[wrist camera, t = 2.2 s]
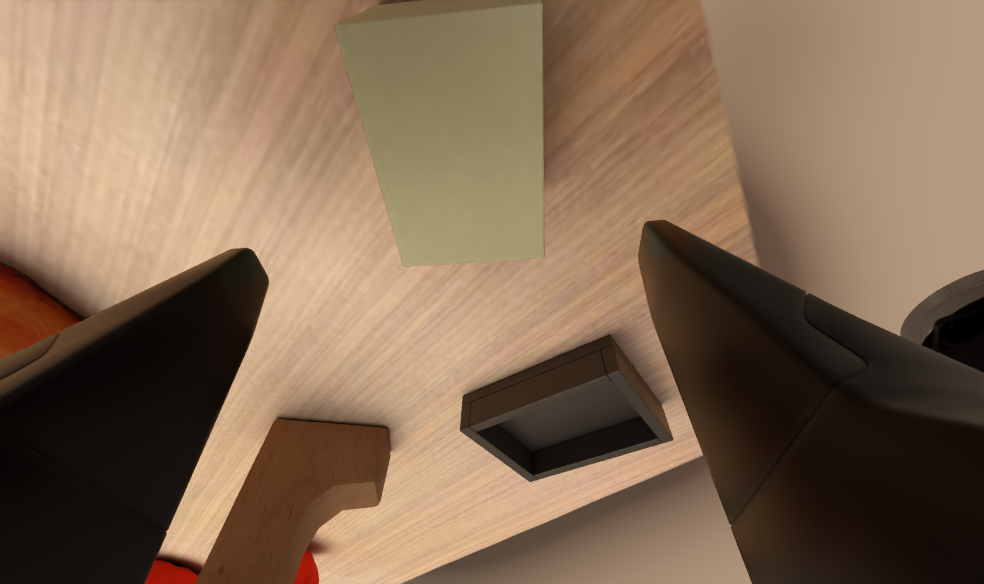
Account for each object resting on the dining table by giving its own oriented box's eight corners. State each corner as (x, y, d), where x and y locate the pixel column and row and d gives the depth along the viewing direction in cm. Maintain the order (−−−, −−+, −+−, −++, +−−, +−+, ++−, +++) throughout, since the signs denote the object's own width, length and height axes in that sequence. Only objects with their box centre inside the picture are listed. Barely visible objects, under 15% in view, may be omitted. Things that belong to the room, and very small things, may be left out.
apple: (335, 543, 50) (313, 619, 44) (320, 561, 54) (299, 632, 49) (267, 530, 47) (235, 608, 42) (258, 550, 52) (228, 623, 46)
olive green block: (377, 4, 14) (332, 24, 11) (531, -13, 14) (542, 2, 10) (422, 205, 20) (403, 267, 16) (536, 197, 19) (544, 258, 15)
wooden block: (389, 425, 32) (305, 777, 19) (391, 453, 35) (320, 775, 22) (273, 416, 32) (100, 771, 18) (285, 445, 35) (144, 770, 21)
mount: (609, 334, 25) (619, 370, 23) (661, 405, 30) (674, 440, 28) (462, 396, 30) (459, 431, 27) (528, 449, 34) (530, 482, 32)
